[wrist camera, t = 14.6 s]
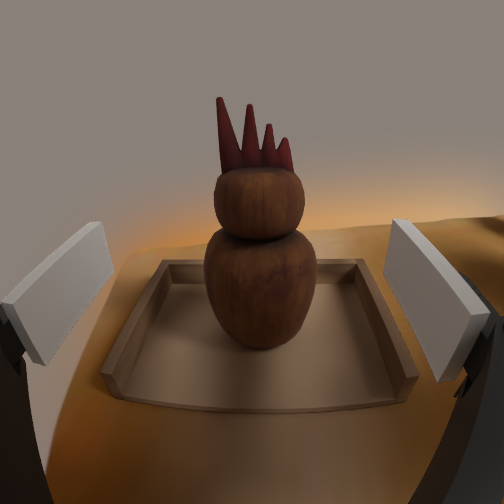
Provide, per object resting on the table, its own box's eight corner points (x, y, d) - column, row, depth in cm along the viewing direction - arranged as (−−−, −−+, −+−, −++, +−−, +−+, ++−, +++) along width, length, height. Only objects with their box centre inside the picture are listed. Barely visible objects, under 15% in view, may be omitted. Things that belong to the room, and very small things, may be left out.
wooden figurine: (198, 343, 19) (166, 101, 13) (235, 297, 24) (224, 99, 17) (295, 372, 17) (308, 91, 10) (318, 316, 22) (332, 98, 15)
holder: (359, 282, 26) (363, 258, 25) (405, 401, 14) (419, 375, 13) (167, 283, 27) (162, 259, 26) (114, 397, 15) (99, 372, 14)
